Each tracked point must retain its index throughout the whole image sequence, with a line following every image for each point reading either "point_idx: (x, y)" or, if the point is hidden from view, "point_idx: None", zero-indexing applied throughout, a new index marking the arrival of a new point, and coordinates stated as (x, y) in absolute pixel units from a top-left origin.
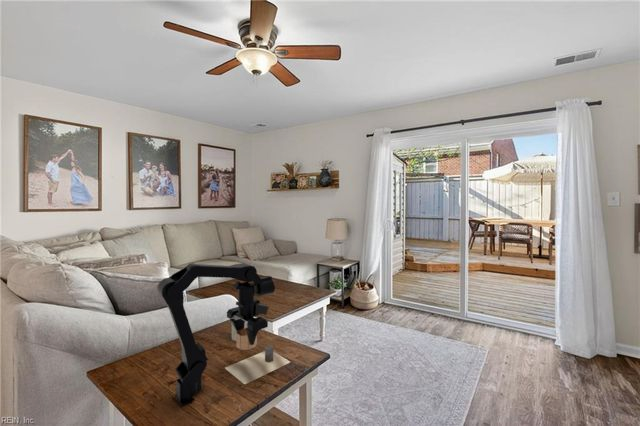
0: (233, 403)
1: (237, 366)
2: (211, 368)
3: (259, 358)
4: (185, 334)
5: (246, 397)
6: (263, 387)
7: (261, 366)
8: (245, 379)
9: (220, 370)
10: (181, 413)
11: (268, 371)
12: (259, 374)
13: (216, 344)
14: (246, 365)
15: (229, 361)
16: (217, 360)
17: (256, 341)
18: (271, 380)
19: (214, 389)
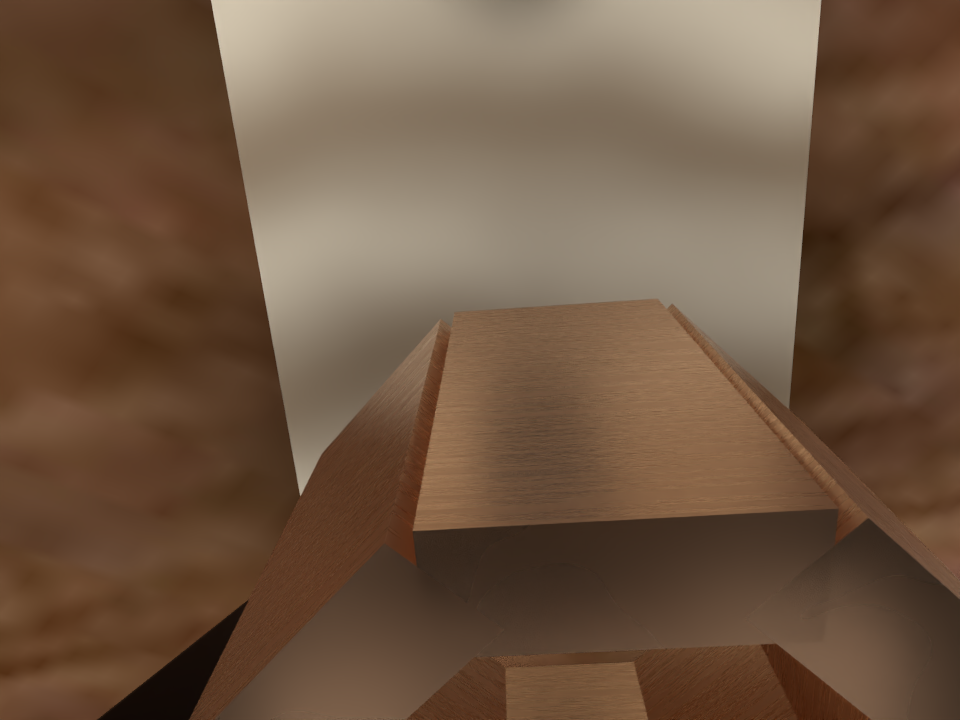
0: None
1: (371, 389)
2: (160, 561)
3: (364, 30)
4: None
5: (895, 510)
6: (907, 301)
7: (593, 132)
8: None
9: (258, 508)
10: None
11: (780, 120)
12: (744, 260)
13: None
14: (424, 289)
15: (113, 355)
16: (12, 453)
17: (738, 366)
18: (877, 148)
19: (550, 663)
